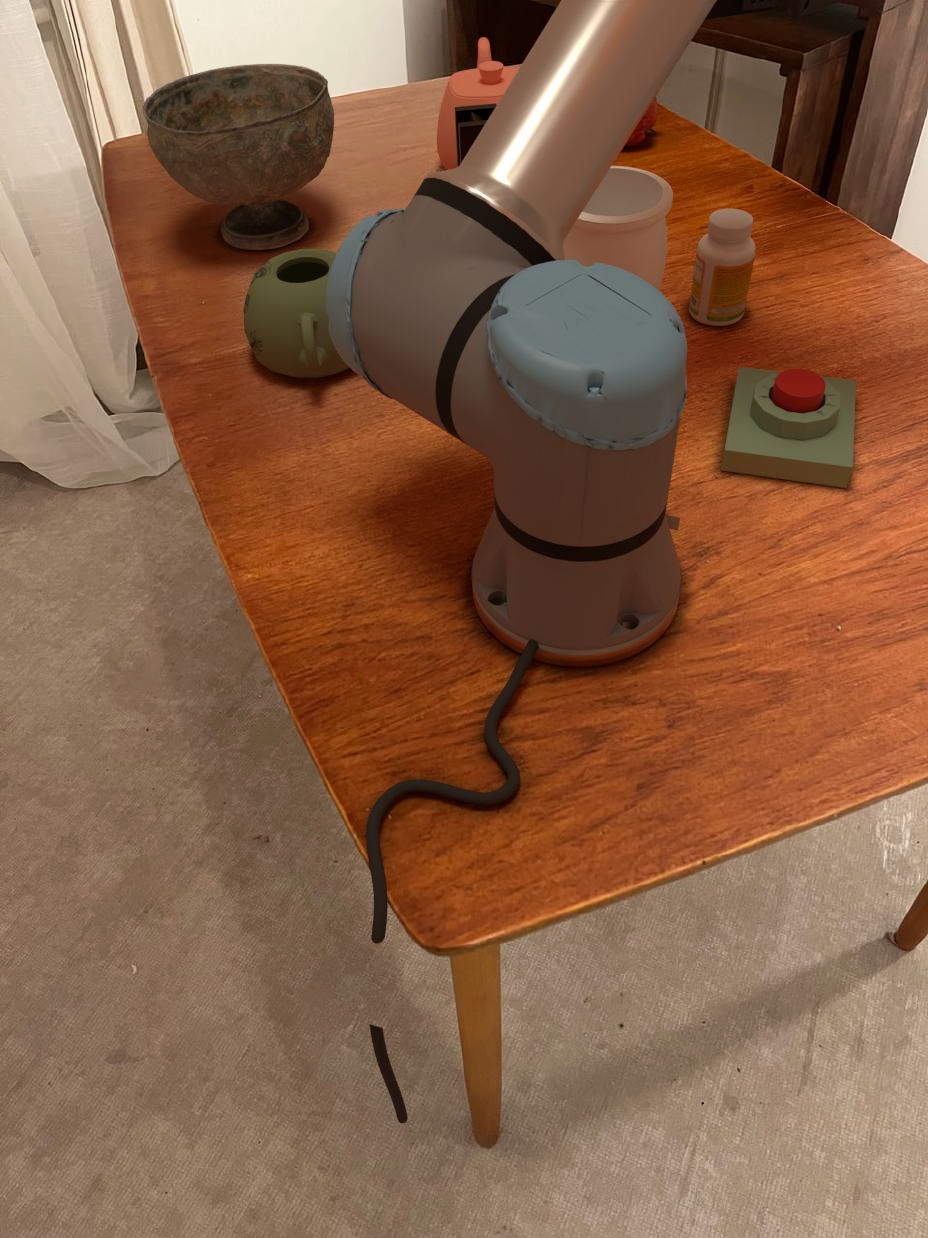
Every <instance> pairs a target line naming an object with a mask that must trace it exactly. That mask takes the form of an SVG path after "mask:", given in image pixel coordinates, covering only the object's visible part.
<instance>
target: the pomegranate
mask: <svg viewBox="0 0 928 1238" xmlns="http://www.w3.org/2000/svg"><path fill="white" fill-rule="evenodd" d="M657 121H658V101H657V96H656V97H655V98H654V100H653V101H652V103H651V104H650V106H649V108H648V109H647V111H646V112H645V114H644V115H643V117H642V119H641V120H640V122H639V123H638V125H637V126H636V128H635V130H634V131H633V133H632V134H631V136H630V137H629V139H628V141H627V142H626V144H625V145H624V147H635V146H636V145H638V144H641V143H642V142H643V141H644V140H645V138H646V131H651V132H652V133H653V134H655V135H657V133H658V132H657V131H656V130H654V128H653V127H654V126H655V125H656V123H657Z"/></svg>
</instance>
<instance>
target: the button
mask: <svg viewBox="0 0 928 1238" xmlns="http://www.w3.org/2000/svg"><path fill="white" fill-rule="evenodd" d="M821 376H822V375H820V374H819V373H817V372H815V371H813V370H810V369H806V368H798V367H797V368H788V369H784V370H781V373H779V374H778V375H777V377H776V379H775V383H774V388H773V392H772V401H773V403H774V404H775V406H777V407H779V408H781V409H783V410H785V411H787V412H794V413H802V414H803V413H808V412H813V411H816V410H817V409H818V408H819V407H820V405H821V403H822V399H823V395H824V392H825V388H826V383H825V380H824V379H823V378H822V377H821Z"/></svg>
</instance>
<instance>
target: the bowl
mask: <svg viewBox="0 0 928 1238" xmlns="http://www.w3.org/2000/svg"><path fill="white" fill-rule="evenodd" d="M328 85H329V81H328V79H327V78H325V76H324V75H323V74H321V73H320V72H319V71H317V70H314V69H312V68H309V67H307V66H302V65H295V64H285V63H253V64H240V65H231V66H225V67H218V68H212V69H208V70H204V71H201V72H198V73H194V74H190V75H186V76H183V77H181V78H178V79H176V80H174V81H172V82H168V83H166V84H164V85H162V86H161V87H159V88H157V89H156V90H154V91H153V92H152V93H151V94H150V96H148V97H146V99H145V101H144V102H143V104H142V114H143V117H144V119H145V121H146V124H147V130H146V135H147V139H148V143H149V145H150V148H151V151H152V153H153V155H154V156H155V158H156V159H157V161H158V162H159V164H160V165H161V166H162V167H163V169H164V170H165V172H167V174H168V175H169V177H170V178H171V179H172V180H173V181H175V182H176V183H177V184H178V185H180V187H182V188H183V189H185V191H187V193H189V194H191V195H193V197H196V198H198V199H201V200H203V201H205V202H208V203H211V204H215V205H217V206H234V208H233V209H232V210H231V211H230V212H228V213H227V215H226V216H225V217H224V218H223V220H222V223H221V226H220V232H221V235H222V238H223V240H224V242H225V243H227V244H228V245H230V246H231V247H233V248H237V249H241V250H246V251H247V250H248V251H263V250H272V249H278V248H282V247H284V246H287V245H289V244H292V243H294V242H297V241H299V240H301V239H302V237H303V236H305V235H306V234H307V232H308V231H309V227H310V225H309V224H310V223H309V219H308V217H307V215H306V213H305V212H304V211H303V210H302V209H301V208H300V207H299V206H298V205H295V204H294V203H292V202H290V201H287V200H284V198H286V197H287V196H289V195H292V194H294V193H296V192H297V191H300V190H301V189H303V188H304V187H306V186H307V185H308V184H309V183H310V182H312V181H313V180H314V179H316V178H317V177H319V176H320V174H321V173H322V171H323V169H324V168H325V165H326V163H327V160H328V158H329V157H330V155H331V150H332V145H333V139H334V129H335V111H334V110H335V109H334V106H333V103H332V99H331V96H330V92H329V87H328Z"/></svg>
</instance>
